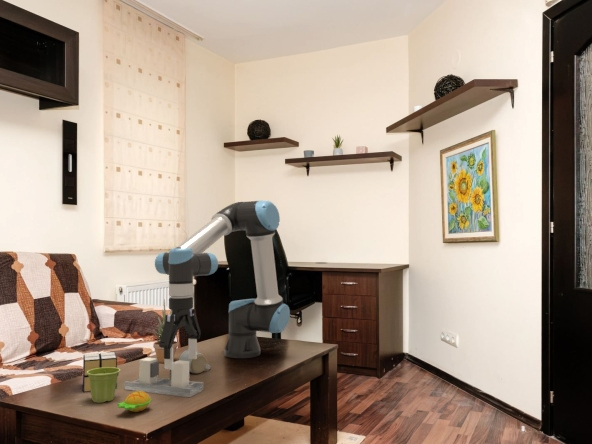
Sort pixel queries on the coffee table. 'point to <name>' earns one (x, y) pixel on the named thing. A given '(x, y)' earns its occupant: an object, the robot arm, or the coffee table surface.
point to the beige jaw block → (180, 374)
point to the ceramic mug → (195, 362)
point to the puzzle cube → (96, 365)
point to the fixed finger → (148, 370)
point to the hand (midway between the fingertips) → (181, 363)
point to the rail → (165, 387)
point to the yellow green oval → (136, 401)
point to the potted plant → (158, 349)
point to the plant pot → (103, 383)
